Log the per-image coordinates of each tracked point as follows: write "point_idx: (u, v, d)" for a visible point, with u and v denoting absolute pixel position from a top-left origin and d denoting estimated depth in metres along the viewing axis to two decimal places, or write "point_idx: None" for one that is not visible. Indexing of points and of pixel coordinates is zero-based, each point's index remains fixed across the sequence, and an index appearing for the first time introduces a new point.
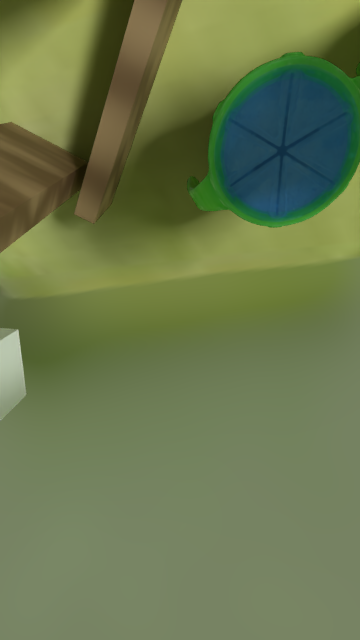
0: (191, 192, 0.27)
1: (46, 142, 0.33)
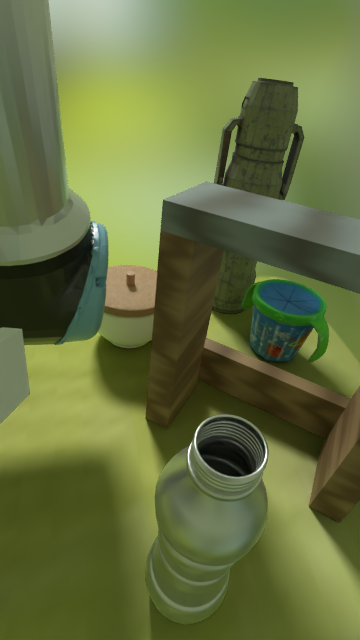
0: (320, 337, 0.44)
1: (316, 473, 0.36)
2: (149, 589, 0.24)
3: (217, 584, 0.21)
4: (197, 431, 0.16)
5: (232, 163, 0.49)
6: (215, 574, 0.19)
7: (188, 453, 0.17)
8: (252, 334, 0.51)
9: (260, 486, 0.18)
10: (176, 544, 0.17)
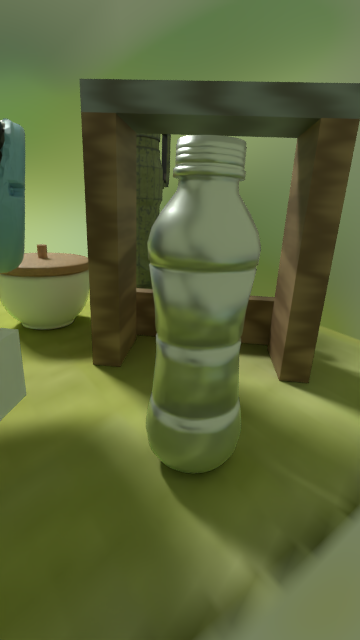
0: None
1: (273, 359, 0.38)
2: (161, 438, 0.20)
3: (233, 368, 0.20)
4: None
5: None
6: (231, 319, 0.18)
7: (175, 167, 0.17)
8: None
9: None
10: (189, 250, 0.16)
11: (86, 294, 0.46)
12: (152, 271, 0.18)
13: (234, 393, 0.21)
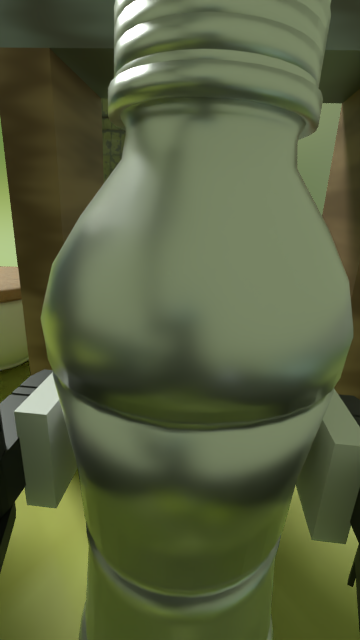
0: None
1: None
2: None
3: (266, 592, 0.08)
4: None
5: None
6: (271, 516, 0.07)
7: None
8: None
9: None
10: (143, 363, 0.04)
11: None
12: (55, 382, 0.07)
13: (265, 631, 0.09)
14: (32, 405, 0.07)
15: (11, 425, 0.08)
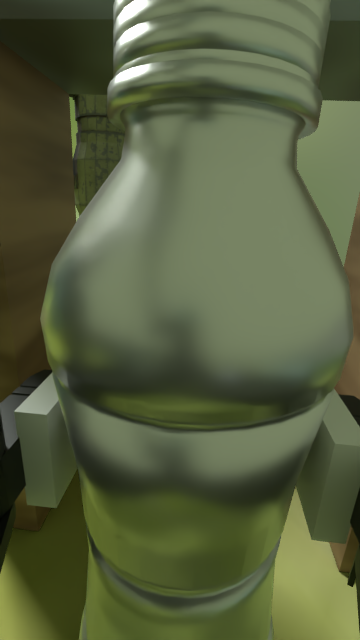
0: None
1: None
2: None
3: (266, 593, 0.08)
4: None
5: (77, 144, 0.39)
6: (271, 516, 0.07)
7: None
8: None
9: None
10: (142, 363, 0.04)
11: None
12: (55, 382, 0.07)
13: (265, 631, 0.09)
14: (32, 405, 0.07)
15: (11, 425, 0.08)
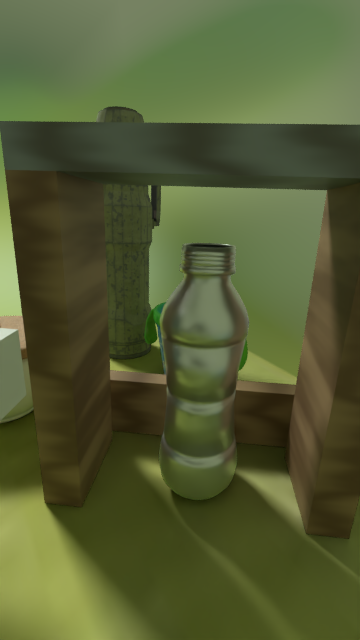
0: None
1: (295, 486, 0.27)
2: (171, 472, 0.25)
3: (229, 416, 0.25)
4: (183, 244, 0.22)
5: None
6: (226, 379, 0.23)
7: (181, 265, 0.22)
8: None
9: None
10: (193, 333, 0.21)
11: None
12: (164, 342, 0.23)
13: (230, 434, 0.25)
14: None
15: None
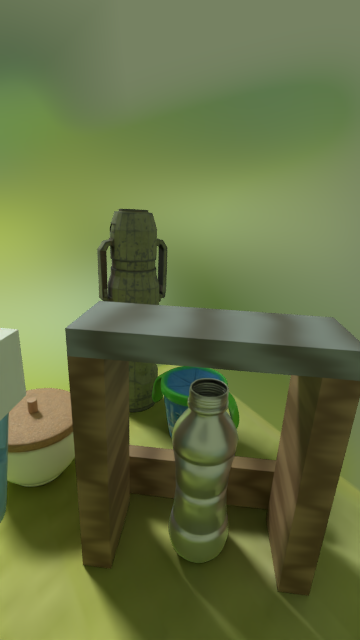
0: (231, 411, 0.48)
1: (272, 549, 0.36)
2: (179, 543, 0.34)
3: (222, 503, 0.33)
4: (190, 387, 0.30)
5: (112, 275, 0.54)
6: (220, 482, 0.31)
7: (189, 402, 0.30)
8: (170, 425, 0.52)
9: (228, 414, 0.32)
10: (197, 457, 0.29)
11: None
12: (175, 454, 0.31)
13: (223, 515, 0.34)
14: None
15: None
